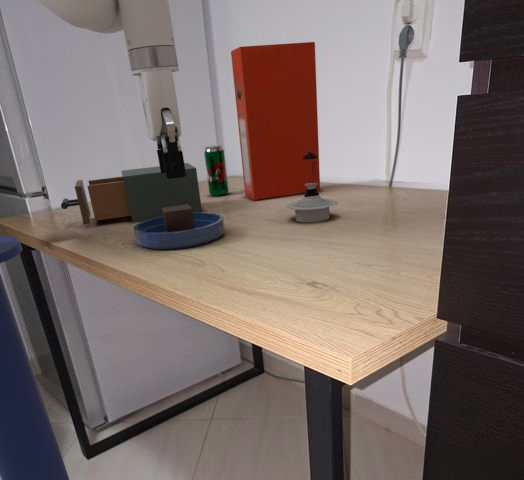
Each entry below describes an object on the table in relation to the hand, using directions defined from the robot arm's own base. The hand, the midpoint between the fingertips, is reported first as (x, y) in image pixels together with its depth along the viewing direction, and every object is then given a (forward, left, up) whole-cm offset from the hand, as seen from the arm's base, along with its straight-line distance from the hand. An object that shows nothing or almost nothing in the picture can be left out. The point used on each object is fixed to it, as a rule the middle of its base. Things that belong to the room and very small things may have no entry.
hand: (173, 174), depth 87 cm
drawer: (-13, +28, -10) cm, 33 cm away
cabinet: (0, +28, -11) cm, 30 cm away
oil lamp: (+26, 0, -11) cm, 28 cm away
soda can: (+16, +42, -11) cm, 46 cm away
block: (0, 0, -11) cm, 11 cm away
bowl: (0, 0, -11) cm, 11 cm away
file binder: (+30, +31, -11) cm, 44 cm away
